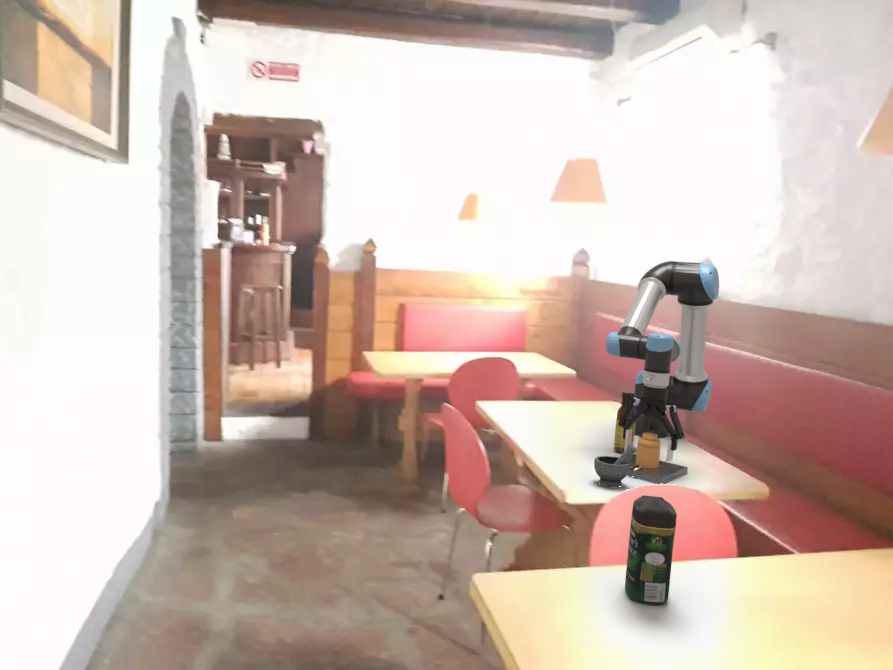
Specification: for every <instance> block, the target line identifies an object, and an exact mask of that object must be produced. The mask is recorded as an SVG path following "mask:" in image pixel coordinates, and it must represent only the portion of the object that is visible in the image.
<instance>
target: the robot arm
mask: <svg viewBox="0 0 893 670" xmlns="http://www.w3.org/2000/svg"><path fill="white" fill-rule="evenodd" d="M719 289H720V275H719V271H718V269H717V267H716V266H715V265H714V264H710V263H709V264H708V263H704V262H690V261H689V262H687V261H675V260H669V261H664V262H661V263H658V264H656V265H655V266H653V267H652V268H650V269H649V270H647V271H646V272H645V273H644V275H643V276H642V277H641V278H640V280H639V282H638V284H637V291H638V292H637V293H636V295H635V298H634V299H633V301H632V304H631V305H630V308H629V310H628V312H627V314H626V317H625V319H624V320H623V322H622V325H620V326H621V327H619V331H611V332H609V333H608V335H607V337H606V342H605V349H606V353H607V354H608V355H609V356H613V357H619V358H626V359H635V360H642V361H644V366H643V367H644V368H643V370H641V371H639V372H638V373H637V374H636V377H635V382H634V393H635V397H634V398H631V400H630V405H629V407H628V408H627V410H626V411H625V413H624V415H623V416H622V418H621V419H620V421H619V423H618V425H619V426H622V427H623V428H624V431H623V439H625V447H624V451H625V450H626V449H627V447H628V445H629V444H631V440H632V430H633V429H630V428H631V426H632V425H633V424H634V423H636V424H635V435H636V436H639V437H642V434H643V433H645V432H648V433H654V434H657V435H658V437H657V438H665V437H664V436H666V437H668V436H669V437H670V438H669V439H668V441H667V449H666V461H665V462H668V463H670V462H671V461H673V460H674V459H673V458H674V452H675V451H677V448H678V440H681V439H684V438H685V433H684V430H683V427H682V424H681V421H680V419H679V416H678V410H679V411H680V410H681V411H686V412H690V413H692V412H693V413H694V412H695V413H703V412H704V411H706V409H707V407H708V403H709V401H710V398H711V395H712V390H713V381H711V380H708V379H709V375H708V373H706V371H705V358H706V357H705V356H706V343H707V342H706V340H707V325H708V313H709V312H708V310H709V307H710V306H712V305H713V303H714V300H716V299H718V297H719V293H720V292H719V291H720V290H719ZM669 295H670V296H677V303H678V304H679V305H680V306H681V312H680V313H681V314H680V315H681V316H680V334H679V335H680V336H679V341H678V340H677V339H676V338H674V337H673V335H671V334H667V333H660V332H659V333H658V332H651V333H648V334H647V335H645V333H646V330H647V328H648V326H649V324H650V322H651V320H652V318H653V315H654V314H655V313H654V312H655V311H656V309H657V306H658V304H659V302H660V301H661V300H662V299H664V298H665V296H669ZM677 359H678V369H677V370H676V371H674V373H673V375H671V365H672V363H674V362H675V361H677ZM666 410H667V413H668V414H669V417H670V419H669V418H668V414H667V413H666ZM633 411H635V414H636V415H635V416H634V417H633V418H631V419H630V420H629V421H628V422H627V420H628V419H629V417H630V416H631V414H632V412H633ZM670 420H671V422H670ZM626 422H627V423H626ZM667 435H668V436H667Z"/></svg>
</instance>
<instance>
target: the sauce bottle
mask: <svg viewBox="0 0 893 670" xmlns="http://www.w3.org/2000/svg"><path fill="white" fill-rule="evenodd" d="M621 397H622V400H621V406H620V407H619V408H618V410H617V413H616V420H615V431H614V439H613V441H614V442H613V446H614V447H613V451H614V452H616V453H619V454H623V452H624V447H625V439H623V431H624V428H623V427H622V426H619V425H618V423H619V421H620V419H621V418H622V416H623V415H624V413H625V411H626V410H627V408H628V407H629V405H630V400H631V398H634V397H635V393H634V392H633V391H625V390H624V391H622V392H621ZM635 415H636V414H635V411H633V412H632V414H631V416H630V417H629V419H628V420H627V422H628V421H629V420H630V419H631V418H633V417H634V416H635ZM627 422H626V423H627ZM635 424H636V423H634V424H633V425H632V426H631V428H630V429H633V430H632V440H631V445H633V446H634V443H635V435H636V434H635Z"/></svg>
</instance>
